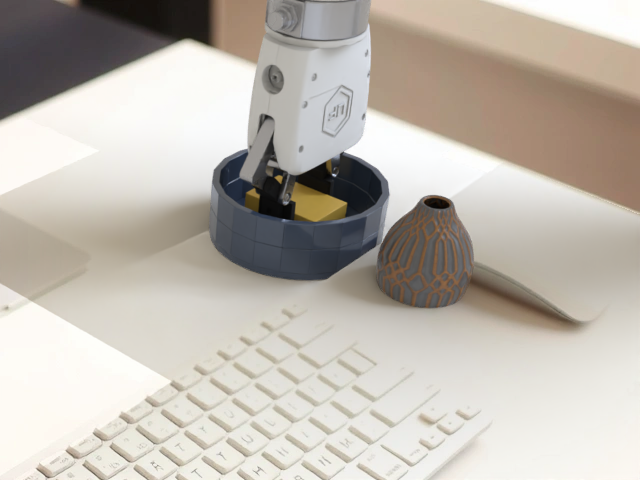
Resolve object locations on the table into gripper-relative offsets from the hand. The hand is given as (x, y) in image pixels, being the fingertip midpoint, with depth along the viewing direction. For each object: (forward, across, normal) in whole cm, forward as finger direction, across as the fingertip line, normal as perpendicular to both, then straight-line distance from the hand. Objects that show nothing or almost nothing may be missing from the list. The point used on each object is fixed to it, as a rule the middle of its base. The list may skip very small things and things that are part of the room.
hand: (292, 226), depth 90 cm
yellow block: (0, 0, 0) cm, 0 cm away
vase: (+1, -2, -13) cm, 13 cm away
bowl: (+1, 0, 0) cm, 1 cm away
